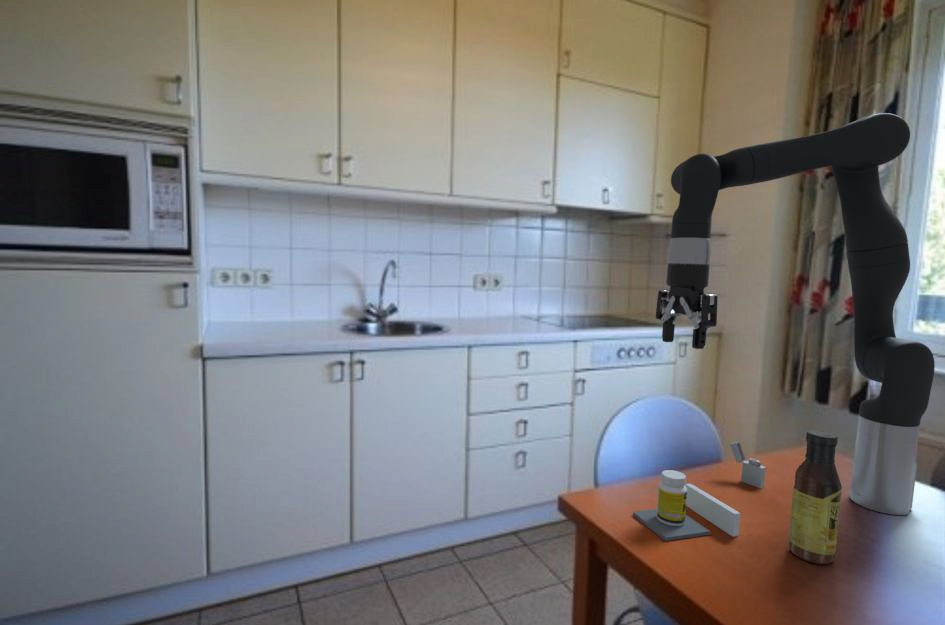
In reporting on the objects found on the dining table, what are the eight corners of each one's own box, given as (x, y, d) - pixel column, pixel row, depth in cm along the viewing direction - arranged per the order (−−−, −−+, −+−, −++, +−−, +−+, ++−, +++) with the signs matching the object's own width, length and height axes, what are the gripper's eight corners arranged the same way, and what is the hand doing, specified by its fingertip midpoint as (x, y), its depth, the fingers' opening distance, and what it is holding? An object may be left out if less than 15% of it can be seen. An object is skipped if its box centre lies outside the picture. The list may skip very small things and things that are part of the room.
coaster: (674, 509, 94) (674, 506, 94) (709, 534, 86) (710, 531, 85) (632, 514, 91) (633, 511, 91) (665, 541, 83) (665, 537, 83)
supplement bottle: (687, 529, 86) (691, 481, 85) (658, 525, 87) (661, 478, 86) (681, 515, 91) (685, 470, 90) (654, 512, 91) (657, 467, 91)
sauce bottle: (836, 571, 76) (850, 444, 74) (787, 558, 79) (799, 435, 77) (832, 552, 82) (845, 432, 80) (787, 539, 85) (798, 425, 83)
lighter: (764, 486, 106) (767, 449, 105) (760, 488, 105) (764, 451, 104) (730, 474, 112) (734, 439, 111) (727, 476, 111) (730, 441, 110)
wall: (688, 503, 97) (690, 483, 96) (738, 535, 85) (740, 513, 85) (683, 504, 96) (685, 484, 96) (732, 536, 85) (734, 514, 85)
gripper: (732, 263, 92) (725, 351, 93) (679, 263, 105) (673, 339, 107) (699, 261, 90) (692, 351, 91) (648, 261, 103) (643, 339, 105)
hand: (682, 345), depth 99 cm, fingers open, 8 cm apart
